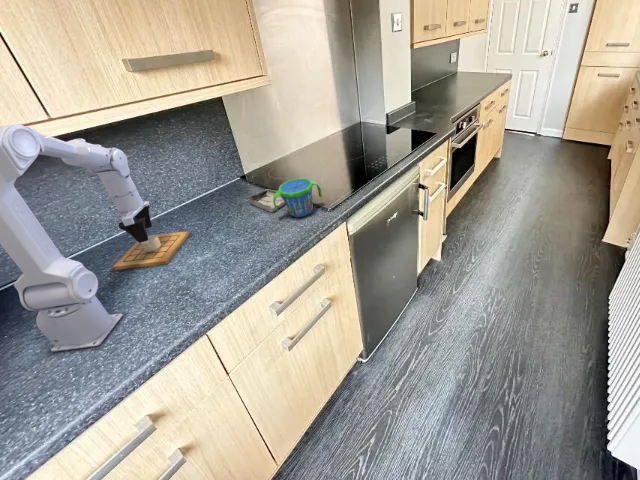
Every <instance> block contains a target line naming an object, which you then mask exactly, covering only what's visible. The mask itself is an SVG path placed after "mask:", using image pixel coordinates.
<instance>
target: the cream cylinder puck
mask: <svg viewBox="0 0 640 480" xmlns="http://www.w3.org/2000/svg"><path fill="white" fill-rule="evenodd" d="M157 235H158V234H150V235H148V241H145V242H141V245H142V247H143V249H144V250H145V251H146V252H151V251H154V250H156V249H158V248H159V247H160V246H161V242H160V240H159V239H158V237H157Z"/></svg>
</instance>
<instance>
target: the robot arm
mask: <svg viewBox="0 0 640 480" xmlns="http://www.w3.org/2000/svg"><path fill="white" fill-rule="evenodd" d="M47 136H48V135H47V134H44V133H41V132H38V130H37V129H36V128H35V127H32V126H25V125H22V124H19V123H13V124H12V123H11V124H6V125H2V126H0V246H1V247H2V248H3V249H4V250H5V252H6V253H7V254H8V256H9V257H10V258H11V260H12V261H13V262H14V264H15V265H16V266H17V267H18V268H19V270H20V271H21V272H22V274H21V275H20V276H19V277H18V278H17V279H16V281H15V282H14V284H13V287H14V288H15V289H16V291H17V292H18V293H17V294H18V296H19V297H18V298H19V302H20V305H22V307H23V308H25V310H27V311H30V312H31V311H32V312H36V311H39V312H38V313H37V315H36V327H37V329H38V330H39V331H40V332H41V333H42V334H43V336H45V338H46V339H47V340H48V341H49V342H50V343H51V344H52V345H53V347H52V348H51V349H50V351H51V352H53V353H54V352H61V351H62V352H63V351H69V350H70V351H71V350H78V349H85V348H92V347H93V348H94V347H99V346H100V345H101V344H102V343H103V342H104V340H105V339H106V338H107V337H108V335H109V334H110V333H111V332H112V330H113V329H114V327H115V326H116V325H117V324H118V323H119V321H120V319H121V318H122V317H123V315H124V314H122V313H113V314H109V313H108V311H107V310H106V308H105V307H104V306H103V304H102V303H101V301H100V299H99V298H98V297H97V295H96V294H97V293H98V288H99V281H98V277H97V276H96V274H95V273H94V272H93V271H91V270H90V269H87V268H86V266H84V264H83V263H82V262H80V261H77V260H74V259H70V258H67V257H64V256H63V255H62V253H61V252H60V250H59V249H58V248H57V246H56V245H55V243H54V241H52V238H50V236H49V235H48V233H47V232H46V230H45V228H44V227H43V226H42V225H41V223H40V222H39V220H38V218H37V217H36V216H35V214H34V213H33V212H32V210H31V209H30V207H29V205H28V204H27V202H26V201H25V200H24V198H23V196H21V194H20V192H19V191H18V190H17V188H16V187H15V183H16V181H17V178H19V177H21V176H23V175H24V173H25V172H26V171H27V170H28V169H29V167H30V166H31V165H32V164H33V163H34V162H35V160H36V159H37V157H38V156H39V155H41V156H47V157H55V158H60V159H61V161H62V162H63V163H65V164H66V165H69V166H73V167H80V168H84V169H87V170H88V171H89V172H90V173H91V174H97V175H98V177H99V179H100V180H101V182H102V184H103V187H104V188H105V190H106V192H107V193H108V195H109V198H110V199H111V200H112V202H113V205H114V206H115V207H116V209H117V213H118V215H119V216H120V218H121V221H119V223H118V225H117V226H118V228H119V230H123V231H124V232H126V233H127V234H129V235H130V236H132V238H133V239H134V240H135V241H136V242H137V241H138V242H139V243H141V242H145V241H148V236H149V235H148V232H147V229H148V228H149V229H150V228H152V225H153V224H152V221H151V220H152V219H151V216H150V201H149V200H146V201H144V199H142V197H141V195H140V193H139V191H138V189H137V186H136V185H135V183H134V180H133V179H132V176H131V174H130V173H131V169H130V167H129V163H128V156H127V154H126V153H125V152H124V151H123V150H121V149H119V148H117V147H104V146H102V144H98V143H96V144H92V143H90V142H87V141H86V139H84V138H80V137H79V138H74V139H71V140H68V141H64V140H62V139H59V138H57V137H53V136H50V137H48V138H45V137H47Z"/></svg>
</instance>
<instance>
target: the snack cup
mask: <svg viewBox="0 0 640 480" xmlns="http://www.w3.org/2000/svg"><path fill="white" fill-rule="evenodd" d="M313 186H316V188H317V191H318V197H319V198H322V197H323V192H322V188H321V186H320V185H319V184H318V183H317V182H316V181H313V180H310V179H309V178H303V177H299V178H293V179H289V180H287V181H285V182H283V183H282V184H280V185H279V186H278V189H277V190H276V191H277V192H276V193H275V195H274V198H273V203H274V206H275V208H276V210H275V211H276V212H279V208H277V206H276V204H275V200H276V198H277V197H278V196H279V195H281V197H282V198H283V200H284V202H285V206H286V209H287V210H288V213H289V215H290V216H292V217H294V218H304V217H305V216H308V215H310V214H311V213H312V211H313V208H314V207H313V206H314V205H313Z"/></svg>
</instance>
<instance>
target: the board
mask: <svg viewBox="0 0 640 480" xmlns="http://www.w3.org/2000/svg"><path fill="white" fill-rule="evenodd" d="M156 235H157V237H158V239H159V240H160V242H161V246H160V247H159V248H158V249H156V250H154V251H151V252H146V251H145V250H144V249H143V247H142V245H141V243H139V242H138V241H137V240H136V242H135V243H134V244H133V245H132V246H131V247H130V248H129V249H128V250H127V251H126V252H125V253H124V254H123V255H122V257H120V259H119V260H117V262H116V263H114V265H113V266H112V269H113V270H114V271H118V270H120V271H121V270H129V269H137V268H145V267H152V266H154V267H155V266H162V265H167V264H169V262H170V260H171V259H172V258H173V257H174V256H175V254H176V253H177V252H178V251H179V249H180V248H181V247H182V245H183V244H184V243H185V241H186V240H187V239H188V238H189V236H190V235H191V234H190V232H189V231H177V232H170V233H160V234H156Z"/></svg>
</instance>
